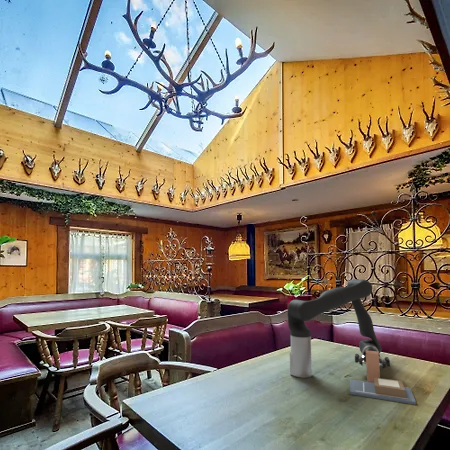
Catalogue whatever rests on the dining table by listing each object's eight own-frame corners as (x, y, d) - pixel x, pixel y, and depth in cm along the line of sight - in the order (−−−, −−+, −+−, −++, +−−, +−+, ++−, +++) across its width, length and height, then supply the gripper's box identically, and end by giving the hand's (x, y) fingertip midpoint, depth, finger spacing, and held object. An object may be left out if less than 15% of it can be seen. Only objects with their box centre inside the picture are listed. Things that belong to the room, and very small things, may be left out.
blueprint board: (349, 394, 118) (349, 383, 118) (350, 381, 131) (350, 372, 131) (416, 404, 109) (415, 392, 110) (410, 390, 122) (409, 380, 122)
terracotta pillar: (367, 382, 130) (365, 353, 132) (367, 378, 135) (365, 350, 136) (380, 384, 128) (378, 354, 130) (379, 380, 133) (378, 351, 135)
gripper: (354, 345, 150) (354, 353, 136) (387, 348, 145) (390, 357, 130) (355, 361, 149) (355, 371, 135) (388, 365, 144) (391, 376, 129)
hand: (372, 364), depth 132 cm, fingers open, 8 cm apart
